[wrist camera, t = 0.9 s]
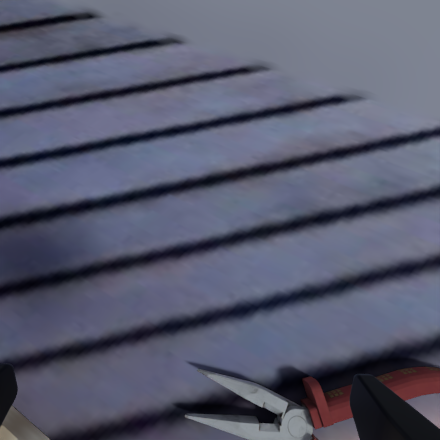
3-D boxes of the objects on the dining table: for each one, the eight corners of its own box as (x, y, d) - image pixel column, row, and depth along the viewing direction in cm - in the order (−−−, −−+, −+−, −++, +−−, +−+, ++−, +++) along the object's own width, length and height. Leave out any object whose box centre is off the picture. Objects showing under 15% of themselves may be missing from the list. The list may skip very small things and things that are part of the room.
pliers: (213, 307, 23) (213, 306, 21) (479, 379, 22) (513, 388, 19) (168, 482, 20) (161, 506, 17) (480, 579, 19) (521, 620, 16)
